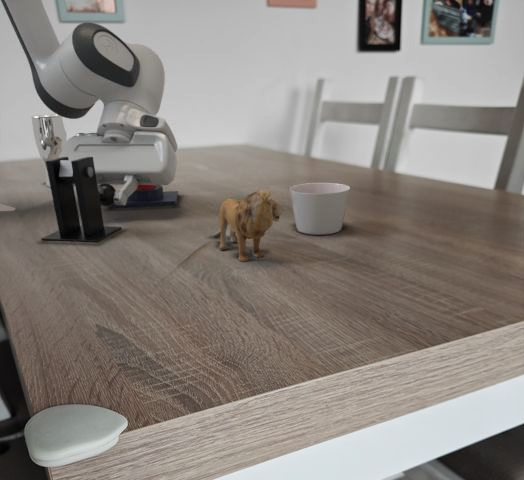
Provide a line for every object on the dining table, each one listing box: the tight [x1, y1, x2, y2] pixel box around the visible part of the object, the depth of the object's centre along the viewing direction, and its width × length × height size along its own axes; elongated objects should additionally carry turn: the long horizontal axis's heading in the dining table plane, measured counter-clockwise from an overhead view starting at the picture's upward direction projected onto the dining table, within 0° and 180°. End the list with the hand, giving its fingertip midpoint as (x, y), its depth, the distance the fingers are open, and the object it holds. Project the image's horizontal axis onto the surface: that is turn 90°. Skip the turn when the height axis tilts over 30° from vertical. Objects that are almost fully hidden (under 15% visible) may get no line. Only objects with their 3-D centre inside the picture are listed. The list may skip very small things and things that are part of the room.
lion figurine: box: [213, 189, 285, 262], centre depth 74 cm, size 15×5×9 cm, turn 35°
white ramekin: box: [289, 182, 351, 236], centre depth 84 cm, size 9×9×6 cm
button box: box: [108, 185, 180, 210], centre depth 104 cm, size 12×10×4 cm
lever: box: [59, 160, 117, 208], centre depth 85 cm, size 13×4×4 cm, turn 167°
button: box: [136, 185, 155, 190], centre depth 103 cm, size 4×4×2 cm
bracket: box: [41, 157, 123, 244], centre depth 81 cm, size 8×9×12 cm
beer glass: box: [31, 114, 68, 188], centre depth 126 cm, size 7×7×15 cm
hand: (105, 203), depth 89 cm, fingers closed on lever, 3 cm apart
